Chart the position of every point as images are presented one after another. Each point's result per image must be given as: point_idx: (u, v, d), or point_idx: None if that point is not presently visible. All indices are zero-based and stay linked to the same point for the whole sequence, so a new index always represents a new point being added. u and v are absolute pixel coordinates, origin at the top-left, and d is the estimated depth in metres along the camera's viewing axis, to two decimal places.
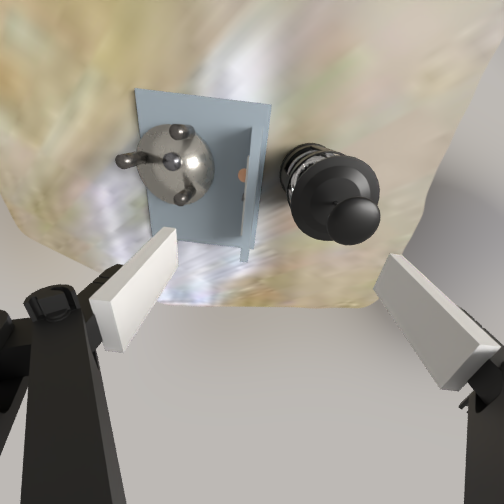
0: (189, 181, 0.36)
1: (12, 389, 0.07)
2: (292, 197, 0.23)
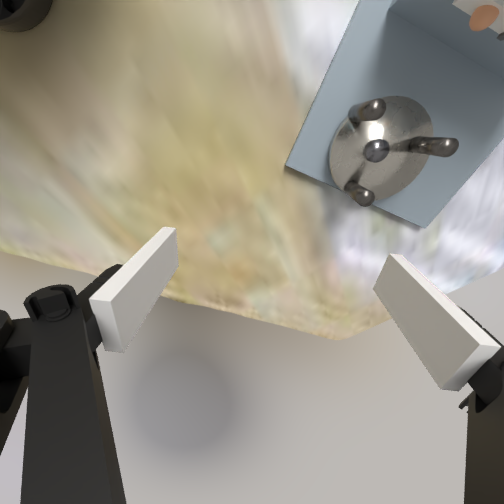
0: (405, 141, 0.27)
1: (12, 389, 0.07)
2: None
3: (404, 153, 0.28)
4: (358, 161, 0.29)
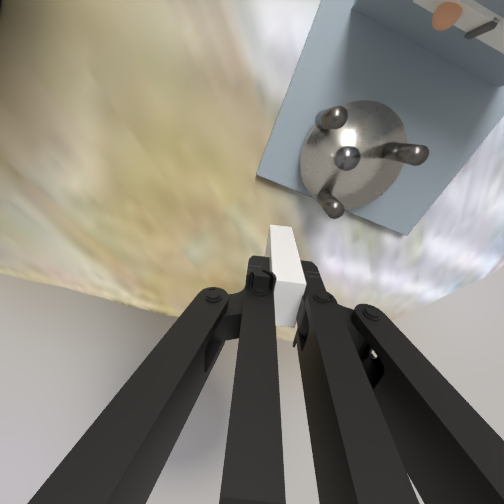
0: (377, 147, 0.26)
1: (211, 354, 0.09)
2: None
3: (377, 160, 0.27)
4: (330, 169, 0.27)
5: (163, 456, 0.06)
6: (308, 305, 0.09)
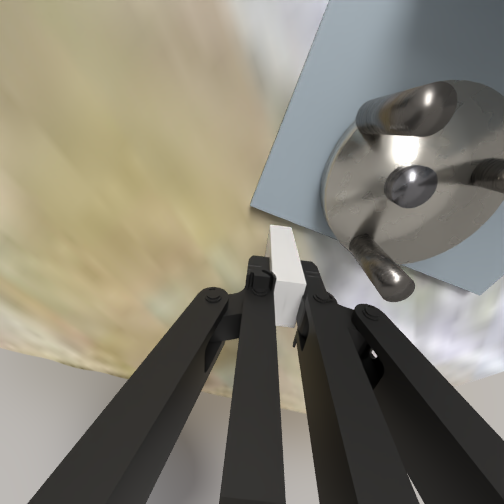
0: (464, 166, 0.14)
1: (211, 354, 0.09)
2: None
3: (461, 188, 0.15)
4: (375, 203, 0.16)
5: (163, 456, 0.06)
6: (308, 305, 0.09)
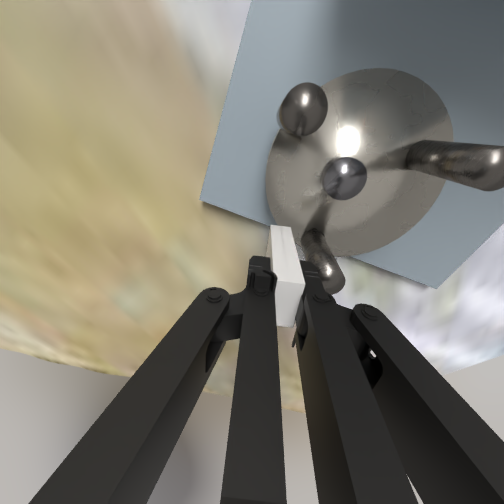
0: (397, 152, 0.14)
1: (212, 354, 0.09)
2: None
3: (399, 174, 0.15)
4: (316, 198, 0.16)
5: (164, 456, 0.06)
6: (307, 305, 0.09)
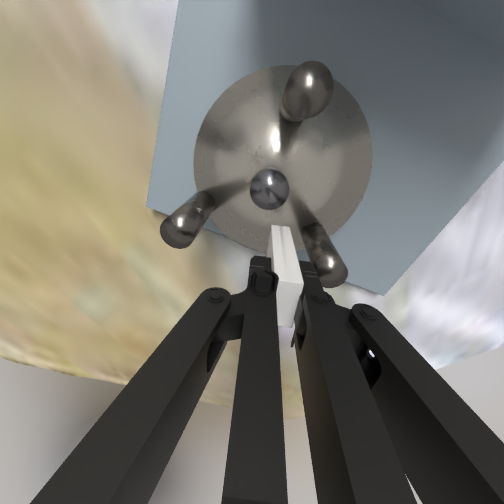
0: (277, 128, 0.14)
1: (213, 354, 0.09)
2: None
3: (300, 132, 0.14)
4: (276, 213, 0.17)
5: (165, 456, 0.06)
6: (306, 305, 0.09)
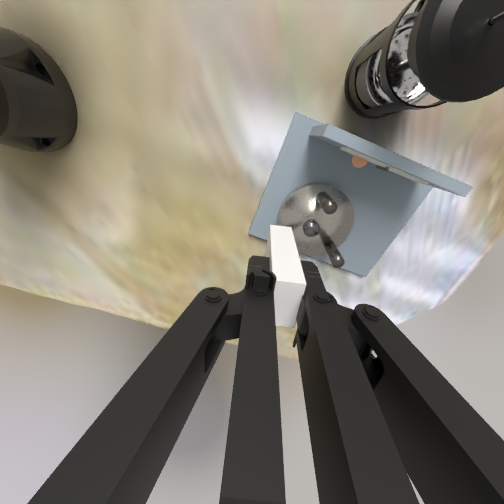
0: (315, 205, 0.35)
1: (211, 354, 0.09)
2: (441, 96, 0.17)
3: None
4: (313, 237, 0.38)
5: (163, 456, 0.06)
6: (308, 305, 0.09)
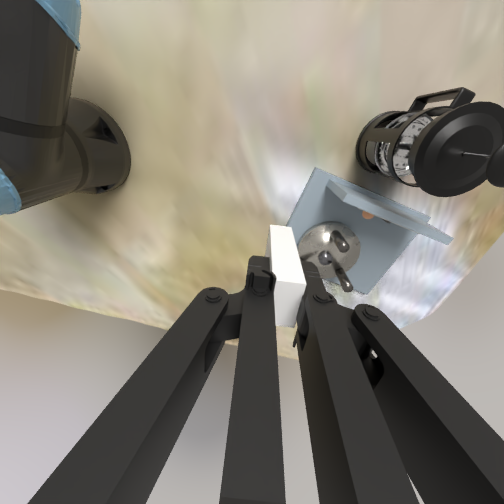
0: (329, 240, 0.43)
1: (211, 354, 0.09)
2: (430, 193, 0.25)
3: None
4: (326, 265, 0.46)
5: (163, 456, 0.06)
6: (308, 305, 0.09)
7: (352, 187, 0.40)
